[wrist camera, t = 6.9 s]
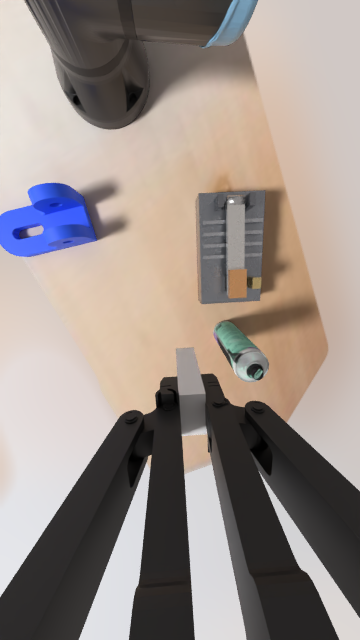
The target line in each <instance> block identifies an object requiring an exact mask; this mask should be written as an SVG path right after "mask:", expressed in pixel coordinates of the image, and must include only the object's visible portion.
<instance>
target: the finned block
mask: <svg viewBox="0 0 360 640" xmlns="http://www.w3.org/2000/svg"><path fill="white" fill-rule="evenodd" d="M228 195H245V261H244V269H247V298H231V299H230V298H228V295H227V264H226V197H227V196H228ZM264 208H265V190H264V191H242V192H220V193H199V194H198V197H197V199H196V232H197V267H198V300H199V301H200V303H201V304H211V303H228V302H245V301H260V290H261V280H262V277H261V270H262V249H263V228H264Z"/></svg>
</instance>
